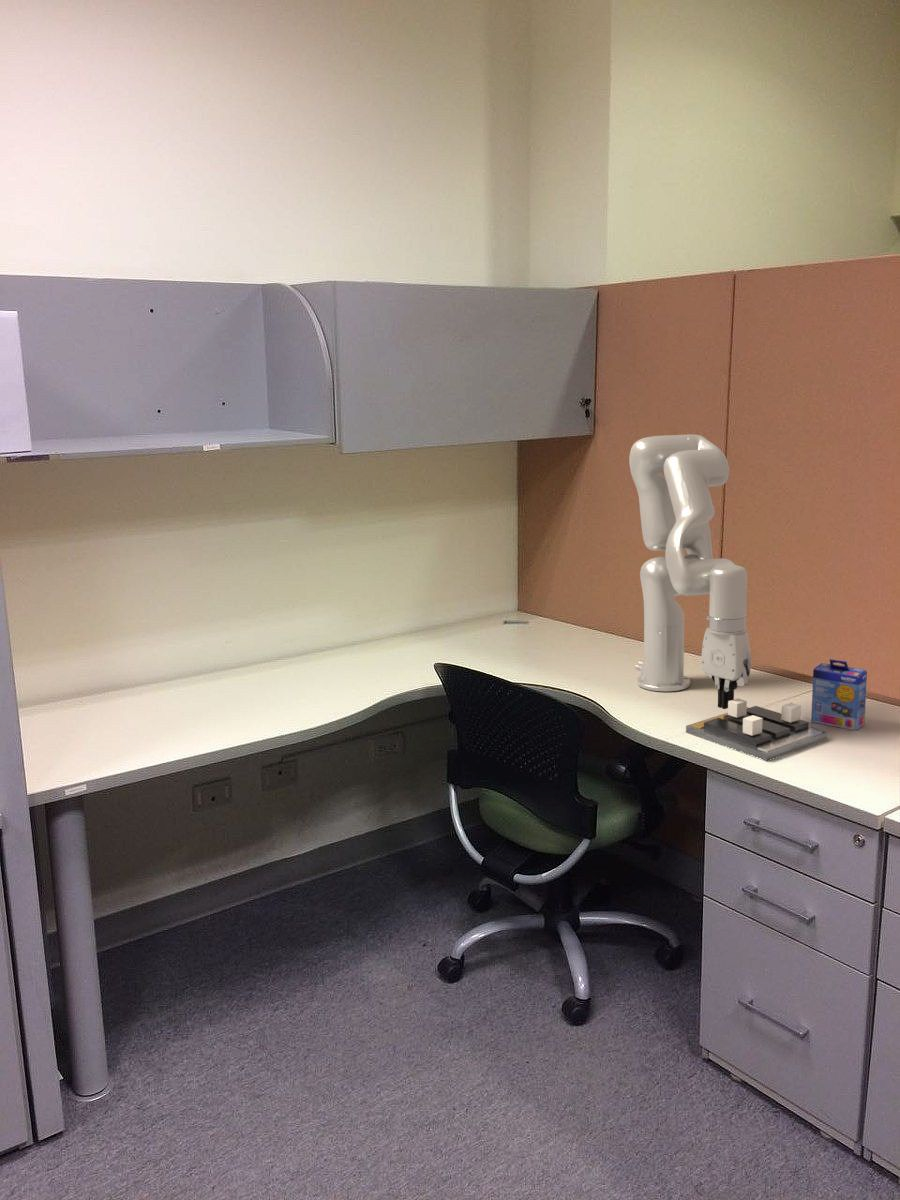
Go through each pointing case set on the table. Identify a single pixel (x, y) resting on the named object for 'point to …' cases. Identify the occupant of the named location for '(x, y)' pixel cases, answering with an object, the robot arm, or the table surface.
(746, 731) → the cream upright box
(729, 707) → the matte ivory cube
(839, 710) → the ink cartridge box
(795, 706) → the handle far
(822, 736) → the panel
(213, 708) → the table surface
